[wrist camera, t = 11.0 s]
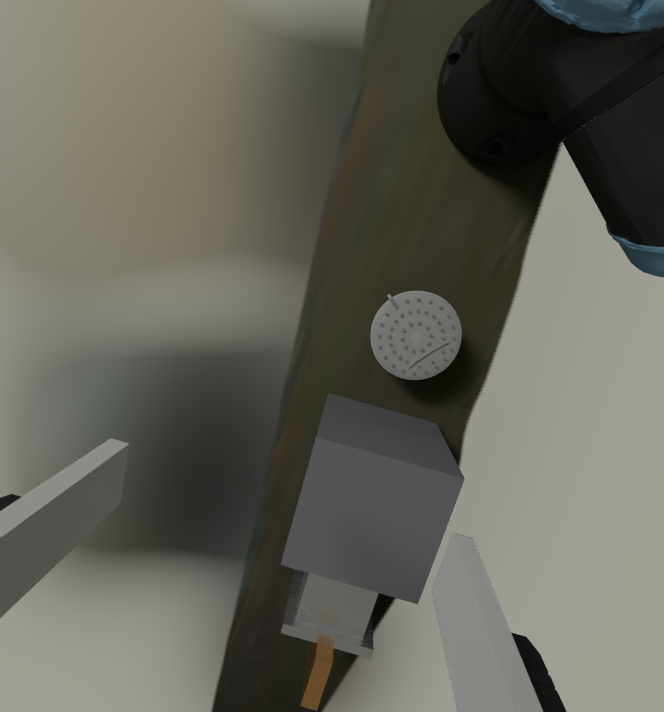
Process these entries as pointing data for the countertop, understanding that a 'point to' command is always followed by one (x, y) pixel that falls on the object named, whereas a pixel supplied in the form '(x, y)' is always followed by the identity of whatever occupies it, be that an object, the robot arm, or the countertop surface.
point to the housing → (373, 500)
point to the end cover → (327, 625)
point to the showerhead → (416, 335)
